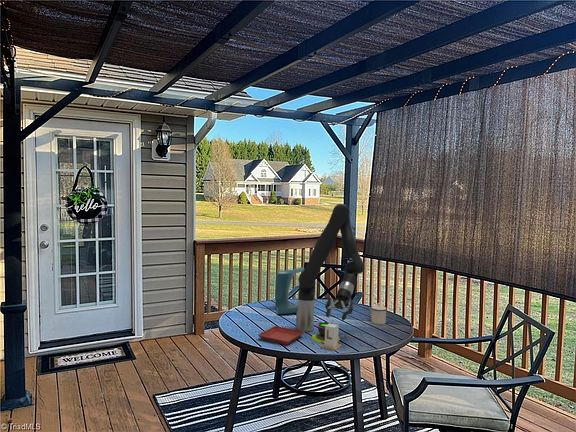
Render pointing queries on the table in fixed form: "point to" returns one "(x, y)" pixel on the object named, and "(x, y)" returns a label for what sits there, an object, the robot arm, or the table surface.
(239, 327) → the table surface
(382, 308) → the teacup with lid
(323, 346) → the coaster
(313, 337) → the toy cauldron
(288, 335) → the plant saucer
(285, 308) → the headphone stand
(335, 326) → the plain off-white block
